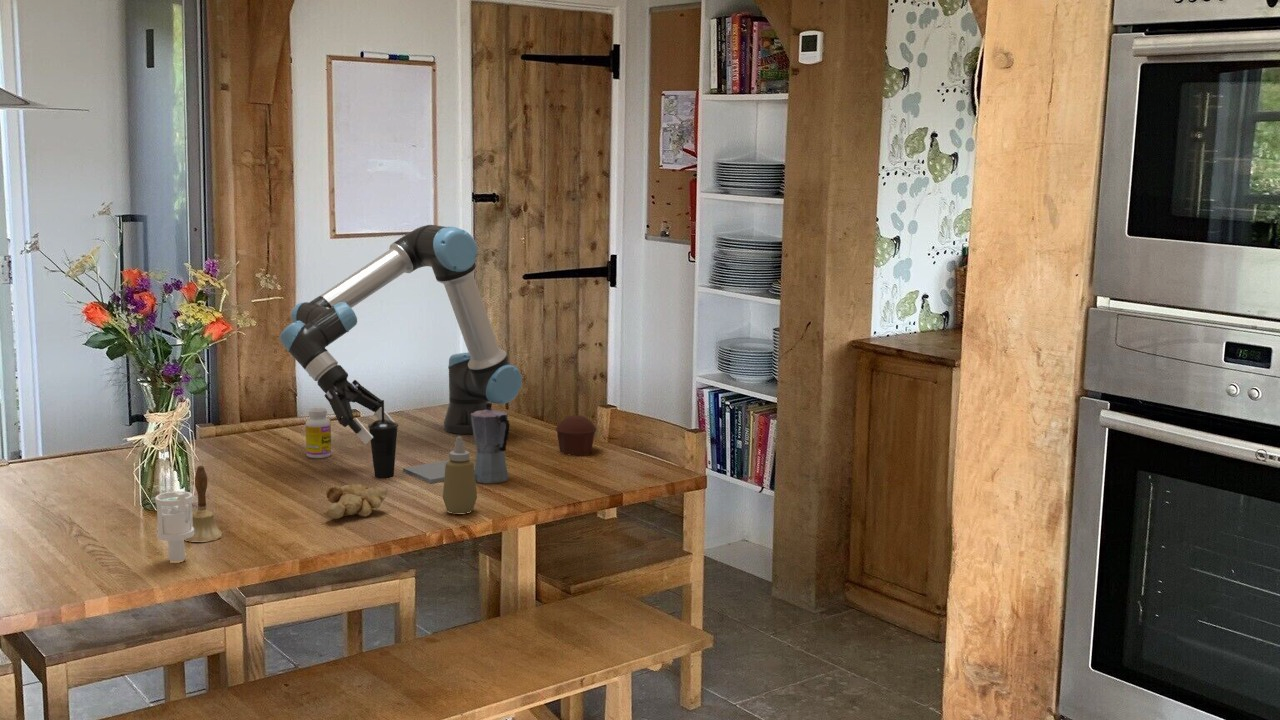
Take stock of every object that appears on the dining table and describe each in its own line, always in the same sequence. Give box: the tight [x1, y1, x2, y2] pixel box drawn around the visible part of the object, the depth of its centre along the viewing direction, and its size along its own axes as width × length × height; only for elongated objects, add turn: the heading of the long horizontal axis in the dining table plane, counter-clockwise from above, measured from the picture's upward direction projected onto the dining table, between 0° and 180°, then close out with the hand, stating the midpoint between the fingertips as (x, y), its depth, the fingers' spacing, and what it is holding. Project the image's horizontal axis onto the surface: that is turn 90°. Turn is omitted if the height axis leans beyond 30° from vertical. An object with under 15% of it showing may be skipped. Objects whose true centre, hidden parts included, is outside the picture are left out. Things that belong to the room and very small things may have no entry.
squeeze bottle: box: [442, 436, 478, 513], centre depth 292 cm, size 8×8×18 cm
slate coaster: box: [402, 459, 475, 484], centre depth 326 cm, size 14×14×1 cm
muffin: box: [555, 414, 597, 456], centre depth 350 cm, size 12×11×10 cm
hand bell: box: [186, 465, 223, 541], centre depth 271 cm, size 8×8×16 cm
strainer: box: [154, 490, 194, 561], centre depth 256 cm, size 7×7×15 cm
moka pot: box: [471, 402, 510, 484], centre depth 318 cm, size 10×15×20 cm, turn 44°
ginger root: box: [323, 483, 388, 520], centre depth 291 cm, size 16×16×8 cm
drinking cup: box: [367, 399, 399, 480], centre depth 321 cm, size 8×8×20 cm
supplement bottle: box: [305, 407, 332, 459], centre depth 340 cm, size 7×7×13 cm
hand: (382, 435), depth 320 cm, fingers open, 13 cm apart
